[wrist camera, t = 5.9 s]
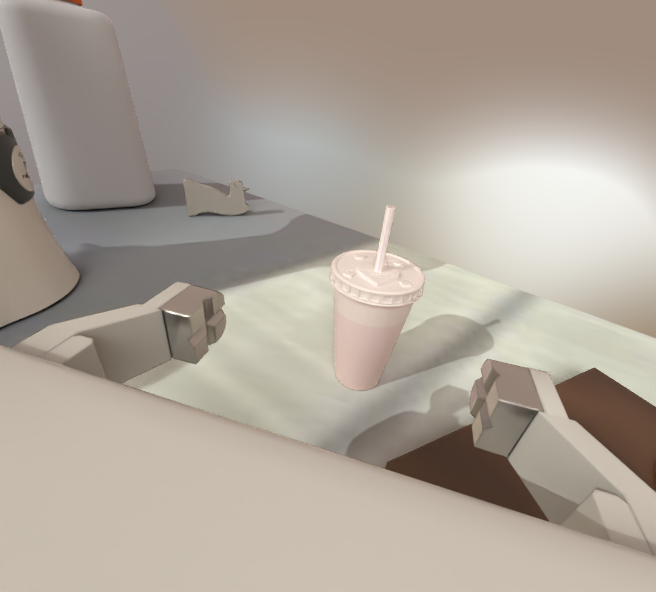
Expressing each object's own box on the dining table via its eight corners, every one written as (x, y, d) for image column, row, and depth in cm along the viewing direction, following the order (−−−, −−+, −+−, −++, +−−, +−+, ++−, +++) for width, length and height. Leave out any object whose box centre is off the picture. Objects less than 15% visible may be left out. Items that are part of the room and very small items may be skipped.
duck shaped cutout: (188, 214, 54) (250, 212, 57) (188, 216, 53) (251, 215, 56) (183, 178, 51) (249, 178, 54) (183, 180, 50) (250, 180, 53)
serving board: (744, 1064, 8) (810, 1097, 7) (382, 476, 20) (387, 457, 19) (892, 589, 18) (929, 575, 17) (585, 379, 29) (597, 363, 28)
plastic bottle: (147, 183, 66) (112, -1, 51) (160, 207, 56) (122, -17, 41) (51, 187, 58) (-21, -28, 44) (46, 215, 48) (-51, -56, 33)
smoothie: (310, 394, 25) (329, 211, 17) (325, 341, 30) (345, 184, 23) (396, 412, 24) (453, 230, 17) (396, 355, 30) (439, 198, 22)
